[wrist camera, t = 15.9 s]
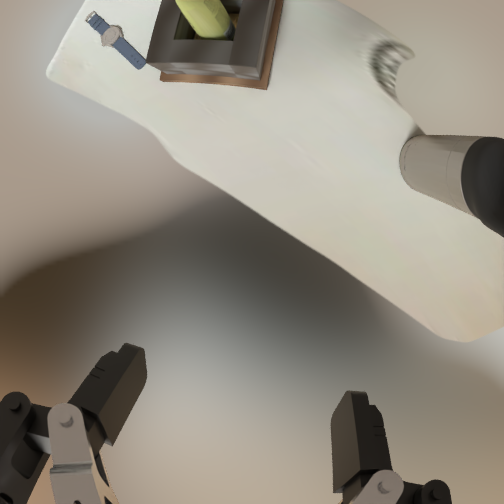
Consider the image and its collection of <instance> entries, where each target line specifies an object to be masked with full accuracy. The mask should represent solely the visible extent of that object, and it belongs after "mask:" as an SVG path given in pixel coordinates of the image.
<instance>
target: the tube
mask: <svg viewBox="0 0 504 504" xmlns="http://www.w3.org/2000/svg"><path fill="white" fill-rule="evenodd" d="M175 1H176V3H177V5H178V6H179V8H180V10H181V12H182V13H183V15H184V16H185V18H186V19H187V21H188V22H189V23H190V25H191V26H192V27H193V29H194V30H195V31H196V33H197V34H198V35H199V37H200V38H201V39H202V40H223V41H233V40H234V36H235V31H236V28H235V26H234V24H233V22H232V20H231V18H230V17H229V15H228V13H227V11H226V10H225V8H224V6H223V5H222V3H221V1H220V0H175Z"/></svg>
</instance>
